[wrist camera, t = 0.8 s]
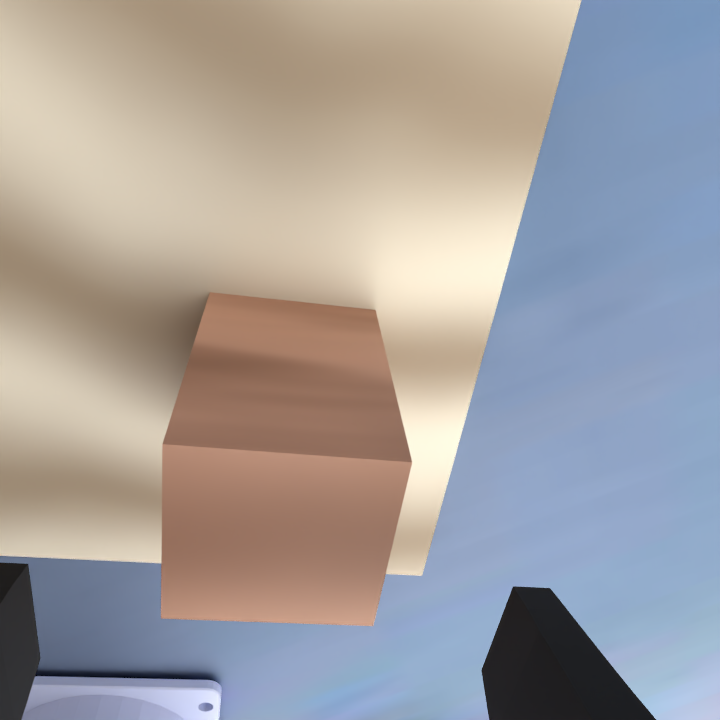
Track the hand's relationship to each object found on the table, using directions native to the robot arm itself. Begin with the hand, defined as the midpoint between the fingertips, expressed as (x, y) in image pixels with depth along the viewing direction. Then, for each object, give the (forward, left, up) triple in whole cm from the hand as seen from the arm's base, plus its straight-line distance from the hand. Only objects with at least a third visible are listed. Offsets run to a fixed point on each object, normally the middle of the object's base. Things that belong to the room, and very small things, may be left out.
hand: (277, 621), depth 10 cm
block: (0, 0, -8) cm, 8 cm away
